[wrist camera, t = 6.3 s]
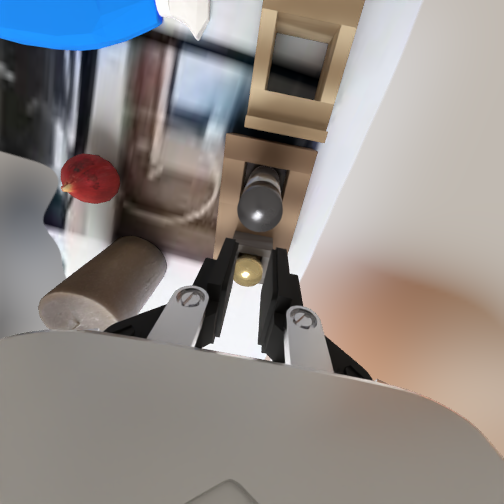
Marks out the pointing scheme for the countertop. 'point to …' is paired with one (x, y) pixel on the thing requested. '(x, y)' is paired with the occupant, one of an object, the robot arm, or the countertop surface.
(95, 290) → the pillar candle
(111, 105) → the countertop surface
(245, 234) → the socket block
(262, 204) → the capped metal cylinder
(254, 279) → the round brass peg
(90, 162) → the onion
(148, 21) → the spray bottle
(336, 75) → the frame
